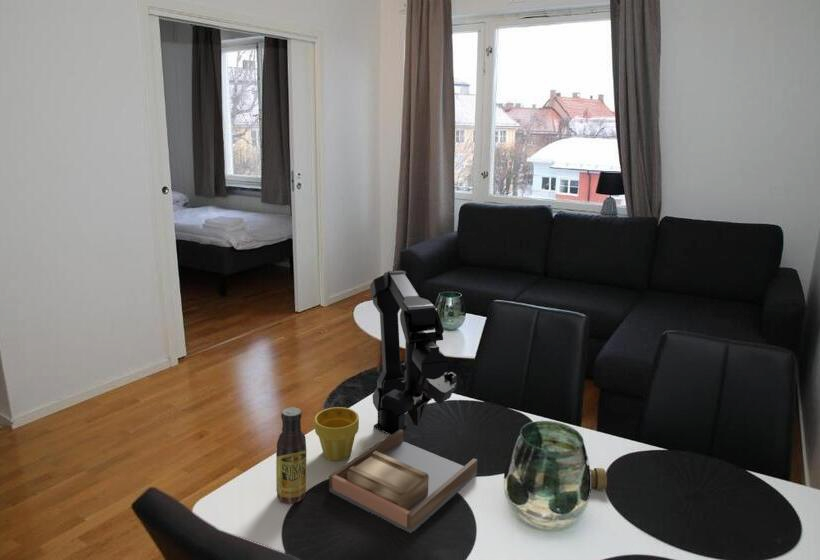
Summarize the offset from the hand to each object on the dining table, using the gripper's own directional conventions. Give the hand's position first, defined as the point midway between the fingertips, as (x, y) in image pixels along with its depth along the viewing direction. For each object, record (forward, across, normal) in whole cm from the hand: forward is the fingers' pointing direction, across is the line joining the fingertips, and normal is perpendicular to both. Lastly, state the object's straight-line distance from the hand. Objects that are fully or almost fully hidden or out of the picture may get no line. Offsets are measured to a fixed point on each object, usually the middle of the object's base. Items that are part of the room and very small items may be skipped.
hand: (416, 424), depth 132 cm
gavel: (+12, +25, -28) cm, 40 cm away
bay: (+12, -5, -1) cm, 13 cm away
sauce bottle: (+12, -24, +15) cm, 31 cm away
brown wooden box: (+11, -11, -1) cm, 16 cm away
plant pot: (+12, -6, +19) cm, 23 cm away
